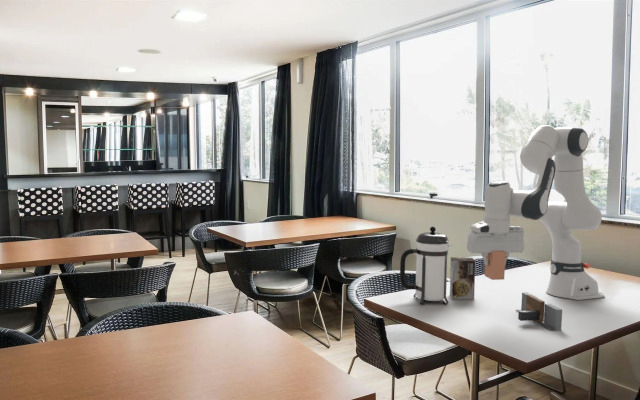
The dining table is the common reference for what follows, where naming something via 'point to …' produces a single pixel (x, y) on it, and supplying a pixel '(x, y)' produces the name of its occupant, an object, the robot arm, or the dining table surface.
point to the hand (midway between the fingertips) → (494, 264)
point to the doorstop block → (495, 265)
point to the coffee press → (429, 267)
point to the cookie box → (462, 278)
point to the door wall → (546, 315)
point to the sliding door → (533, 309)
